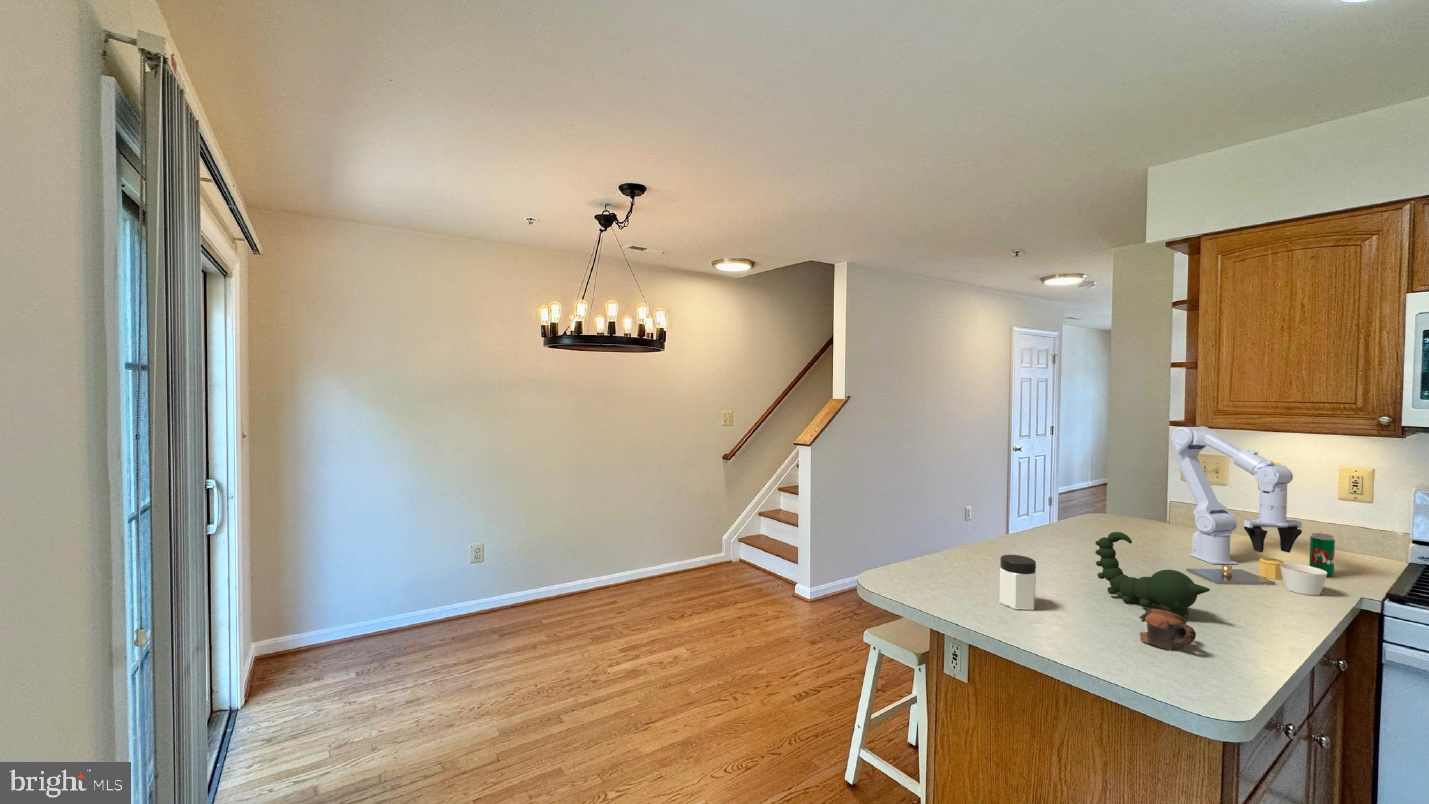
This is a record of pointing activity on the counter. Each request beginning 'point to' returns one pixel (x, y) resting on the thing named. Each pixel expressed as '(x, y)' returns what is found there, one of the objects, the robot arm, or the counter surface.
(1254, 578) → the plate
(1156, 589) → the toy figurine
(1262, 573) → the orange cap
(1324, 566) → the soda can
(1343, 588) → the counter surface
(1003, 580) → the jar
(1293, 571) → the candle
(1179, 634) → the pottery mug
